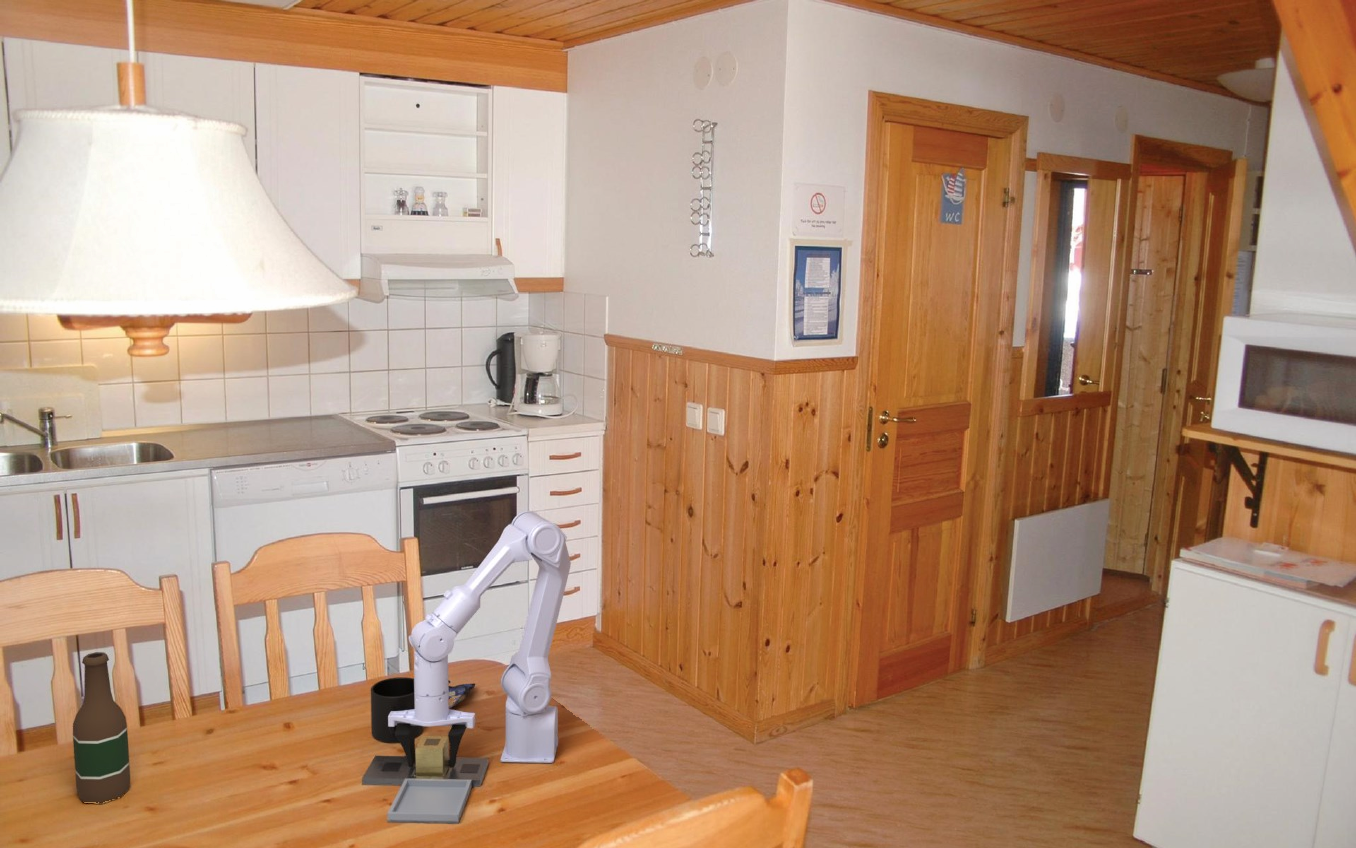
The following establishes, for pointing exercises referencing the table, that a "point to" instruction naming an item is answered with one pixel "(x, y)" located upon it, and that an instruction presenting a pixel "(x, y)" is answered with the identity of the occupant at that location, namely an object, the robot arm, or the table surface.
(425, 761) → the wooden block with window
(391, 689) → the mug
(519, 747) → the robot arm
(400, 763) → the metal plate with cutout
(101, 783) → the beer bottle
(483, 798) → the table surface
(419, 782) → the parts tray
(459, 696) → the snack package
